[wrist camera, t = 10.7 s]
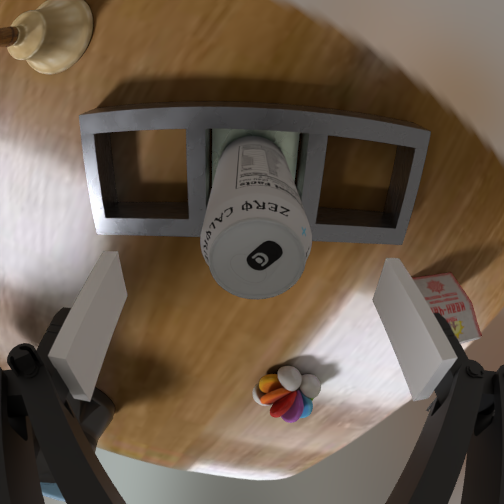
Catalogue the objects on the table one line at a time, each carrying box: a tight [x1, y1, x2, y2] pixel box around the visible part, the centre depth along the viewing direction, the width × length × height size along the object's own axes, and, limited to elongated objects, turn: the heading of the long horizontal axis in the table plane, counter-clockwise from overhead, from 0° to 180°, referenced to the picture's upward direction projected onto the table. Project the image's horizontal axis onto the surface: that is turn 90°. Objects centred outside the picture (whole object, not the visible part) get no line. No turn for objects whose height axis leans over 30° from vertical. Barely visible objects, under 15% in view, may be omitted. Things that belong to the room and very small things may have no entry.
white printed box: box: [412, 272, 482, 344], centre depth 33 cm, size 4×7×10 cm, turn 96°
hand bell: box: [0, 0, 93, 74], centre depth 14 cm, size 8×8×16 cm
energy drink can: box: [200, 136, 312, 299], centre depth 22 cm, size 6×6×15 cm
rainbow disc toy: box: [253, 366, 321, 423], centre depth 44 cm, size 8×10×7 cm
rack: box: [79, 101, 431, 245], centre depth 27 cm, size 30×12×4 cm, turn 87°
